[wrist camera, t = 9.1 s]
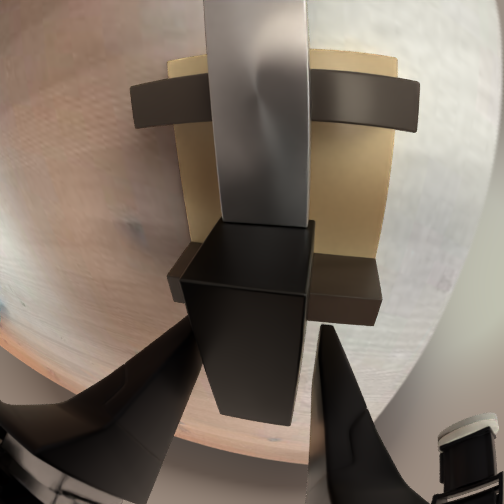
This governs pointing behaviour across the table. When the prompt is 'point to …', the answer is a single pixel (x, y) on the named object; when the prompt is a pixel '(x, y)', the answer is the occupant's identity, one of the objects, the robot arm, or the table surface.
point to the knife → (256, 210)
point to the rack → (322, 167)
